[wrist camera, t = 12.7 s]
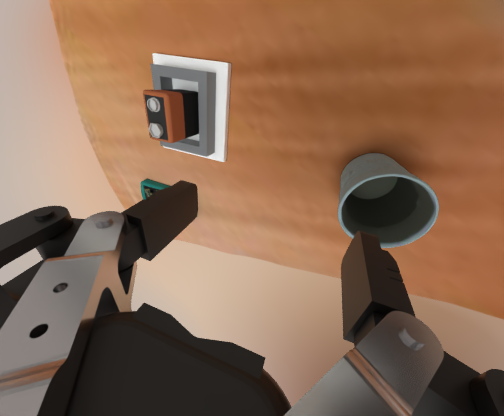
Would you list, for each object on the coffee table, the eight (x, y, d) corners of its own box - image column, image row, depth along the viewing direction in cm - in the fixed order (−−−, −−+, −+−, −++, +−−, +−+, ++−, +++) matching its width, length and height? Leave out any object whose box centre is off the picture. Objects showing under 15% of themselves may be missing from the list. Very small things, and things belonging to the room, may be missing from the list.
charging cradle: (157, 53, 35) (138, 50, 32) (231, 63, 32) (219, 60, 29) (167, 145, 44) (153, 150, 41) (226, 160, 41) (216, 167, 38)
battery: (183, 129, 40) (144, 140, 31) (180, 88, 36) (135, 89, 28) (203, 133, 39) (168, 145, 30) (202, 92, 35) (162, 94, 27)
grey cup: (328, 162, 35) (326, 192, 25) (398, 135, 30) (429, 158, 20) (348, 211, 38) (353, 254, 28) (414, 194, 33) (448, 239, 23)
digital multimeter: (145, 177, 52) (136, 181, 49) (197, 191, 48) (190, 196, 46) (150, 202, 56) (142, 207, 53) (198, 216, 52) (192, 222, 50)
